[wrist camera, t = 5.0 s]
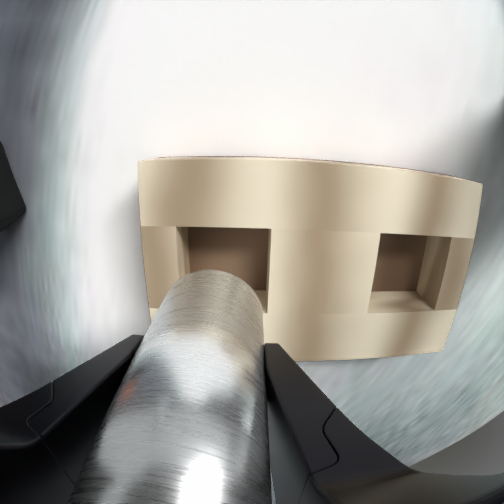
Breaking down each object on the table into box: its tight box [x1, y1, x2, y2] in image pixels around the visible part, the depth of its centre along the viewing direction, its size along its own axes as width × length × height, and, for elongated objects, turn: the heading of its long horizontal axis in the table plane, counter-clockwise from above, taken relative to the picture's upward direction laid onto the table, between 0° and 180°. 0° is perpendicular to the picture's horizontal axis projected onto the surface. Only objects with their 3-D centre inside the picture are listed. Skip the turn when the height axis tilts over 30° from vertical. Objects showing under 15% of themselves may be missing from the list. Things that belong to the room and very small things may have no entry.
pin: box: [68, 270, 272, 504], centre depth 7 cm, size 4×4×9 cm
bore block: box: [138, 156, 483, 361], centre depth 19 cm, size 20×12×4 cm, turn 89°
